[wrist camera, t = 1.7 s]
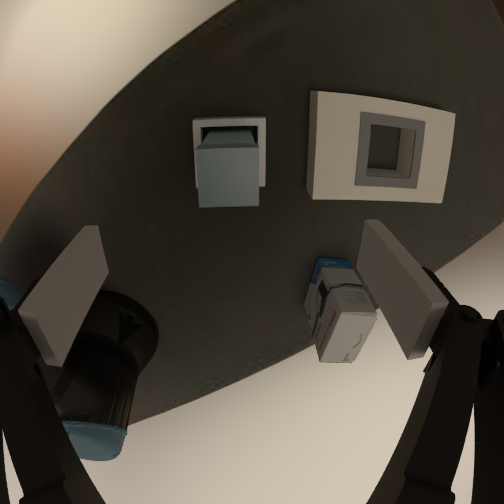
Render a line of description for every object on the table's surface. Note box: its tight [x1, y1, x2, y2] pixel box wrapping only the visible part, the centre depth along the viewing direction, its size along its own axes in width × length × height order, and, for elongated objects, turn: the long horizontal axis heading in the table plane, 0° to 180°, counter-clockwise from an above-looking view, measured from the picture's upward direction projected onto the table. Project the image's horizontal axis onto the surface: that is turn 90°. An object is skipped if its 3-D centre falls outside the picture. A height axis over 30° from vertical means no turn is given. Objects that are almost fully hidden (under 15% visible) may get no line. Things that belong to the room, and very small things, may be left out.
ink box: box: [304, 257, 377, 363], centre depth 39 cm, size 8×5×12 cm, turn 171°
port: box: [306, 91, 455, 203], centre depth 33 cm, size 18×12×4 cm, turn 90°
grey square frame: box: [193, 116, 266, 188], centre depth 33 cm, size 8×8×2 cm
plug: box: [196, 129, 259, 208], centre depth 29 cm, size 5×5×12 cm
